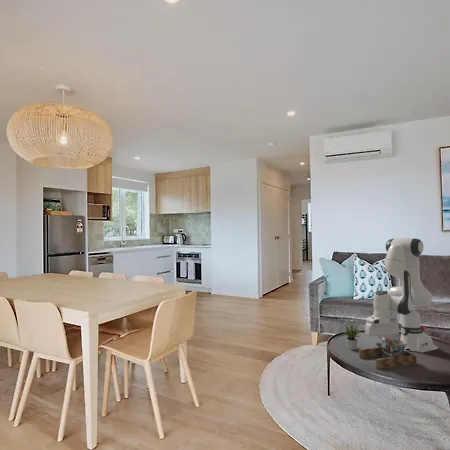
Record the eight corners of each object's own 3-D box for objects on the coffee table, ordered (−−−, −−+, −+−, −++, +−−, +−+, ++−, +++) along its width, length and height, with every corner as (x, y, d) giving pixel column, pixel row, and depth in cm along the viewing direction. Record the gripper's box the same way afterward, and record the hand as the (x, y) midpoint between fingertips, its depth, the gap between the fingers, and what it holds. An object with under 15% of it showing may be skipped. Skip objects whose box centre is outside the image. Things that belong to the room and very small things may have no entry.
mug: (407, 364, 189) (408, 345, 189) (389, 361, 192) (390, 342, 192) (403, 357, 201) (404, 339, 201) (386, 354, 204) (387, 337, 204)
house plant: (368, 347, 218) (367, 322, 219) (363, 353, 207) (362, 327, 207) (345, 343, 226) (345, 319, 227) (340, 349, 215) (339, 324, 215)
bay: (394, 353, 207) (393, 344, 207) (416, 364, 188) (416, 354, 189) (358, 357, 202) (358, 347, 202) (378, 369, 184) (377, 359, 184)
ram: (380, 353, 205) (379, 332, 205) (402, 366, 186) (401, 342, 187) (375, 354, 205) (374, 333, 205) (397, 366, 186) (396, 343, 186)
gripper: (393, 316, 200) (394, 339, 200) (363, 318, 197) (364, 342, 196) (401, 319, 194) (402, 343, 194) (369, 321, 190) (370, 345, 190)
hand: (382, 342), depth 195 cm, fingers closed
